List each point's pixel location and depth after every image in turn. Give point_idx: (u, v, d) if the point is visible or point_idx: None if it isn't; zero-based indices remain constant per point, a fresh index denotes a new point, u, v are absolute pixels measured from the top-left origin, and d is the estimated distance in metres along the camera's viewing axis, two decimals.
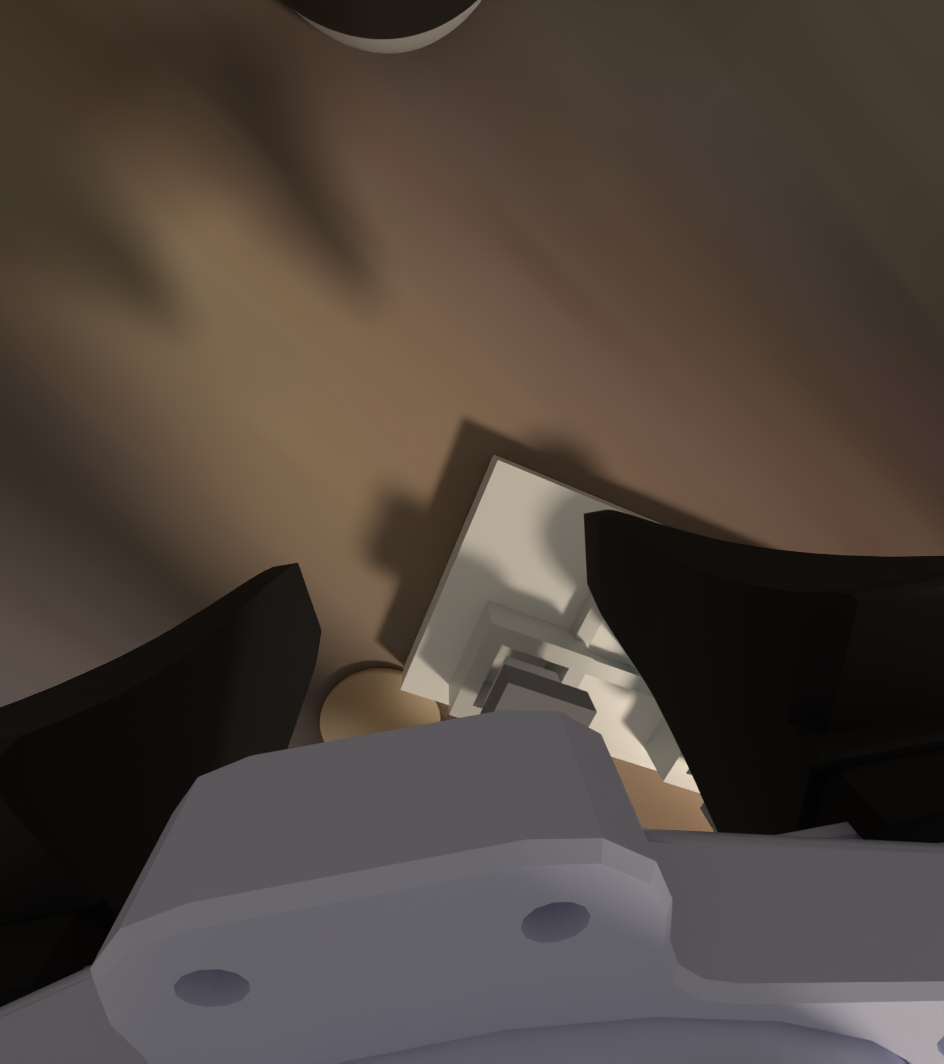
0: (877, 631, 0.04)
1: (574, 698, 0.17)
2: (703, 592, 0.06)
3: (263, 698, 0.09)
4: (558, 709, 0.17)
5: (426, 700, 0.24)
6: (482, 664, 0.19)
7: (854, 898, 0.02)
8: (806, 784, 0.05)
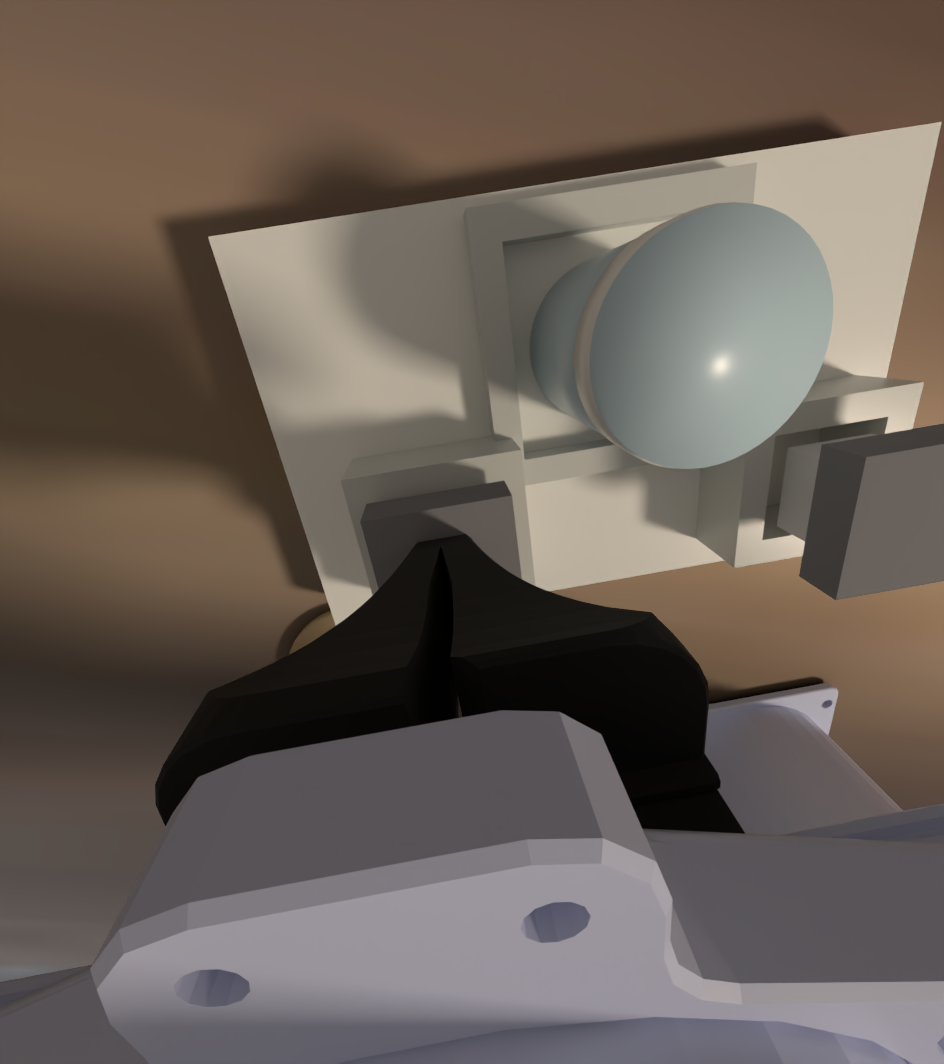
0: (512, 697, 0.04)
1: (476, 495, 0.11)
2: None
3: (447, 665, 0.09)
4: (455, 521, 0.11)
5: None
6: None
7: (854, 898, 0.02)
8: None
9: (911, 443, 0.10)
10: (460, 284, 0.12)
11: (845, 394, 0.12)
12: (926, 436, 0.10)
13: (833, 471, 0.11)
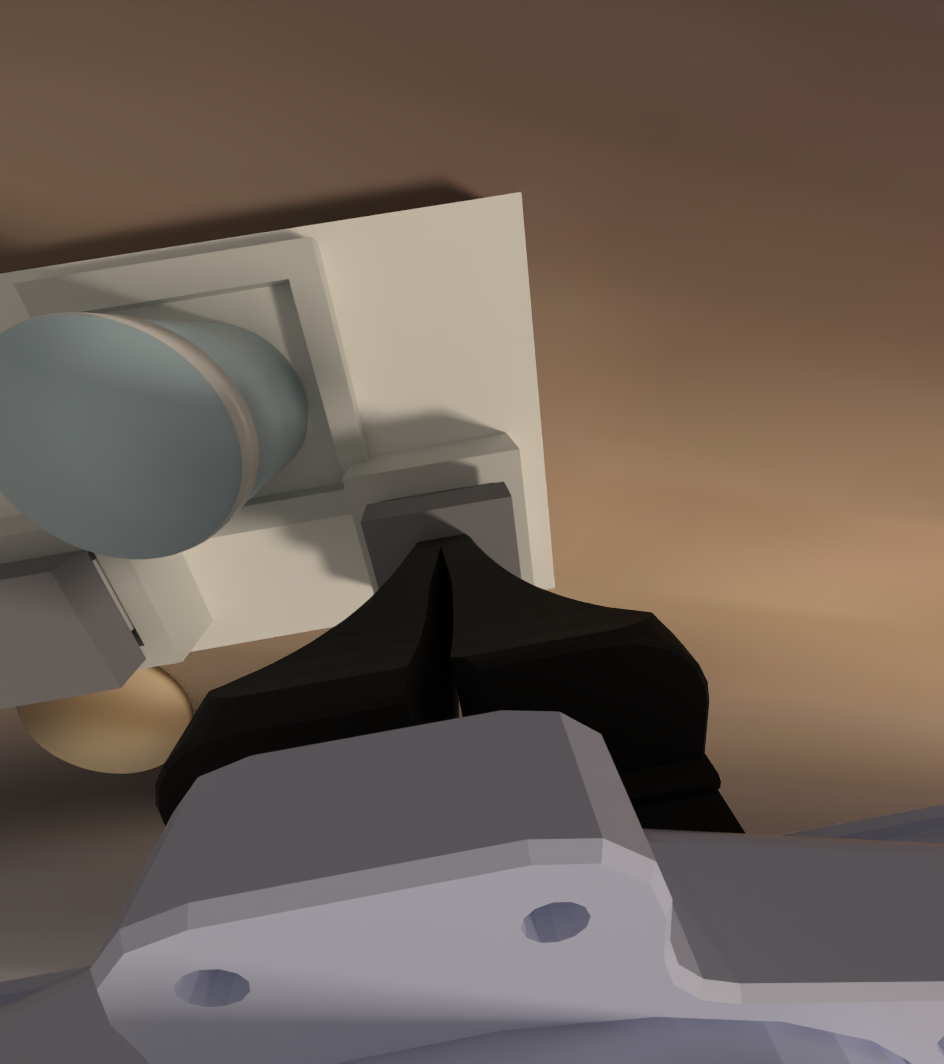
0: (512, 697, 0.04)
1: (30, 568, 0.11)
2: None
3: (447, 665, 0.09)
4: (0, 596, 0.11)
5: None
6: None
7: (854, 899, 0.02)
8: None
9: (416, 507, 0.11)
10: None
11: (441, 461, 0.12)
12: (441, 499, 0.11)
13: None
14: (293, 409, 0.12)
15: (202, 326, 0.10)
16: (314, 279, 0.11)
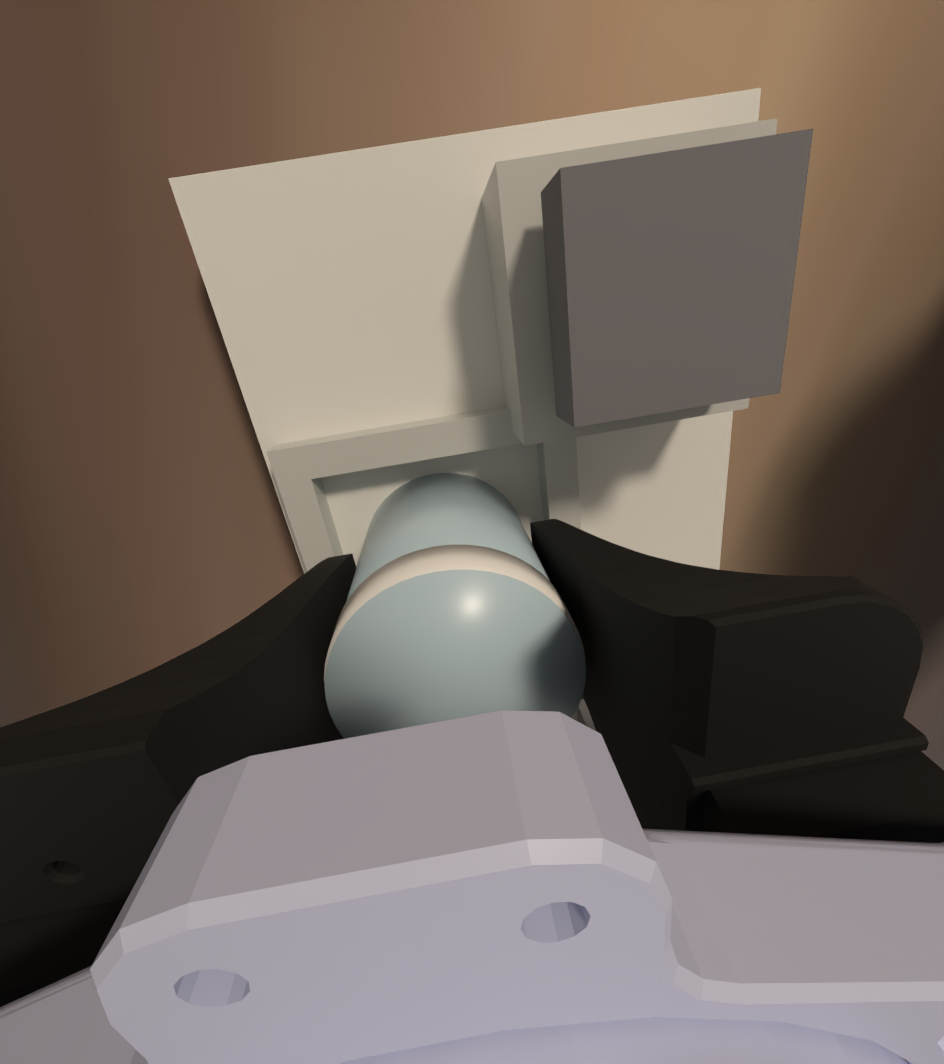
0: (740, 655, 0.04)
1: None
2: (610, 608, 0.06)
3: None
4: None
5: None
6: None
7: (854, 898, 0.02)
8: (687, 806, 0.05)
9: (564, 344, 0.08)
10: None
11: (509, 304, 0.08)
12: (557, 304, 0.08)
13: None
14: (442, 491, 0.10)
15: (356, 569, 0.10)
16: (307, 453, 0.11)
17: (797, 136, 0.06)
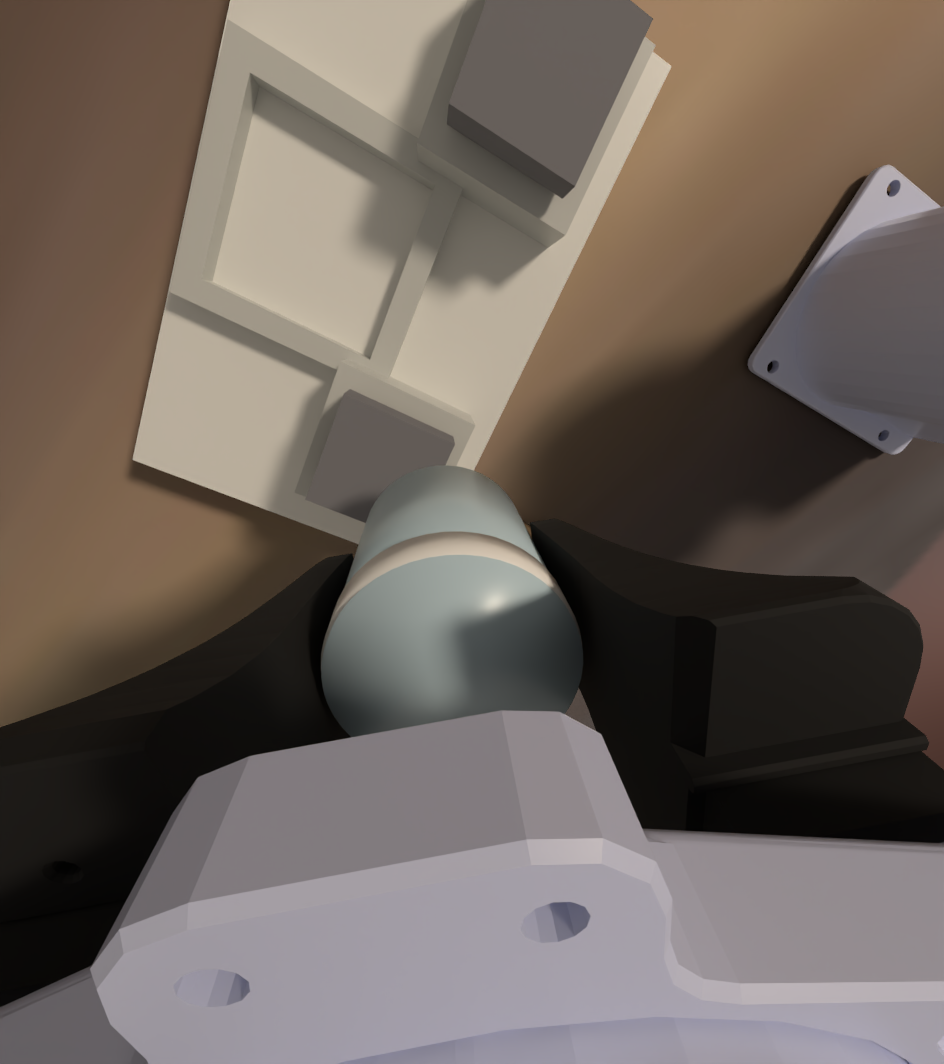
0: (741, 656, 0.04)
1: (337, 416, 0.14)
2: (611, 608, 0.06)
3: None
4: (340, 442, 0.14)
5: None
6: None
7: (854, 898, 0.02)
8: (687, 806, 0.05)
9: (471, 45, 0.11)
10: (226, 324, 0.16)
11: (458, 27, 0.12)
12: None
13: (466, 128, 0.12)
14: (436, 482, 0.10)
15: None
16: (259, 48, 0.12)
17: (644, 16, 0.11)
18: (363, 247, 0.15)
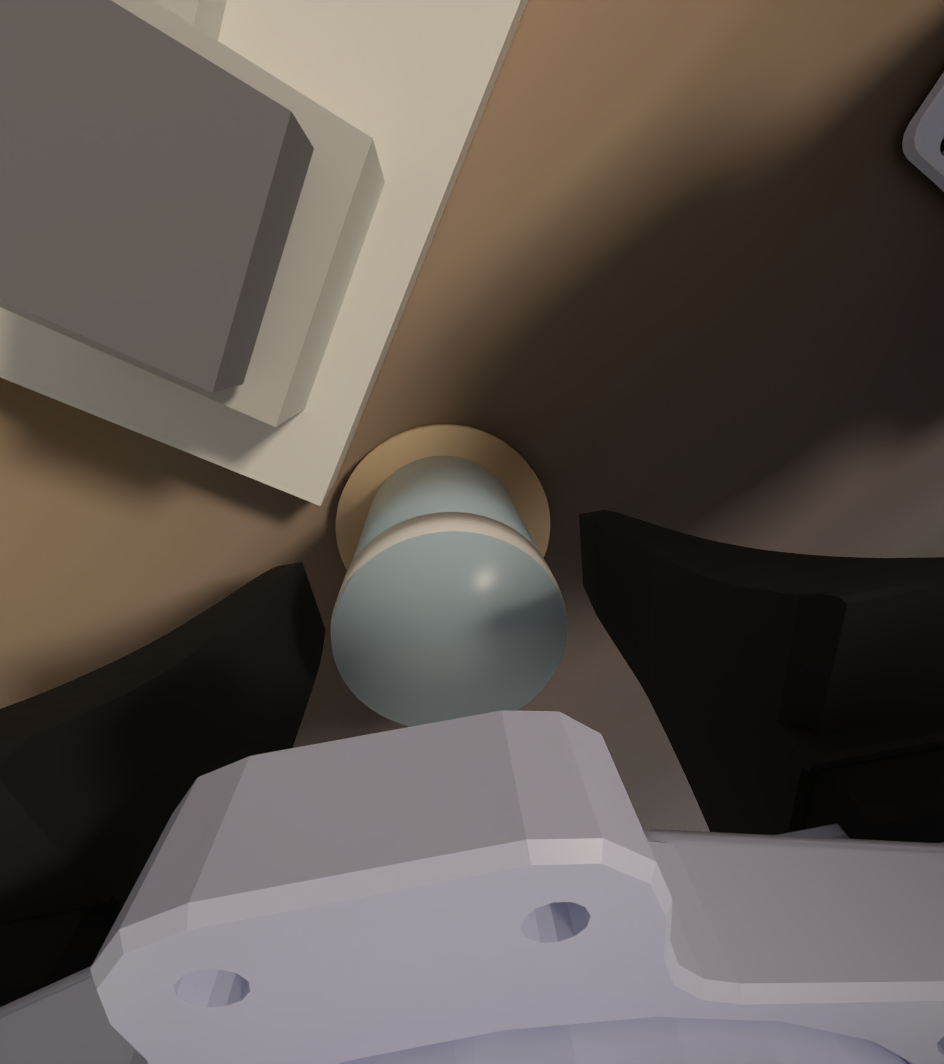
0: (866, 633, 0.04)
1: None
2: (696, 593, 0.06)
3: (269, 696, 0.09)
4: None
5: (396, 449, 0.12)
6: None
7: (854, 898, 0.02)
8: (797, 786, 0.05)
9: None
10: None
11: None
12: None
13: None
14: (434, 470, 0.11)
15: None
16: None
17: None
18: None
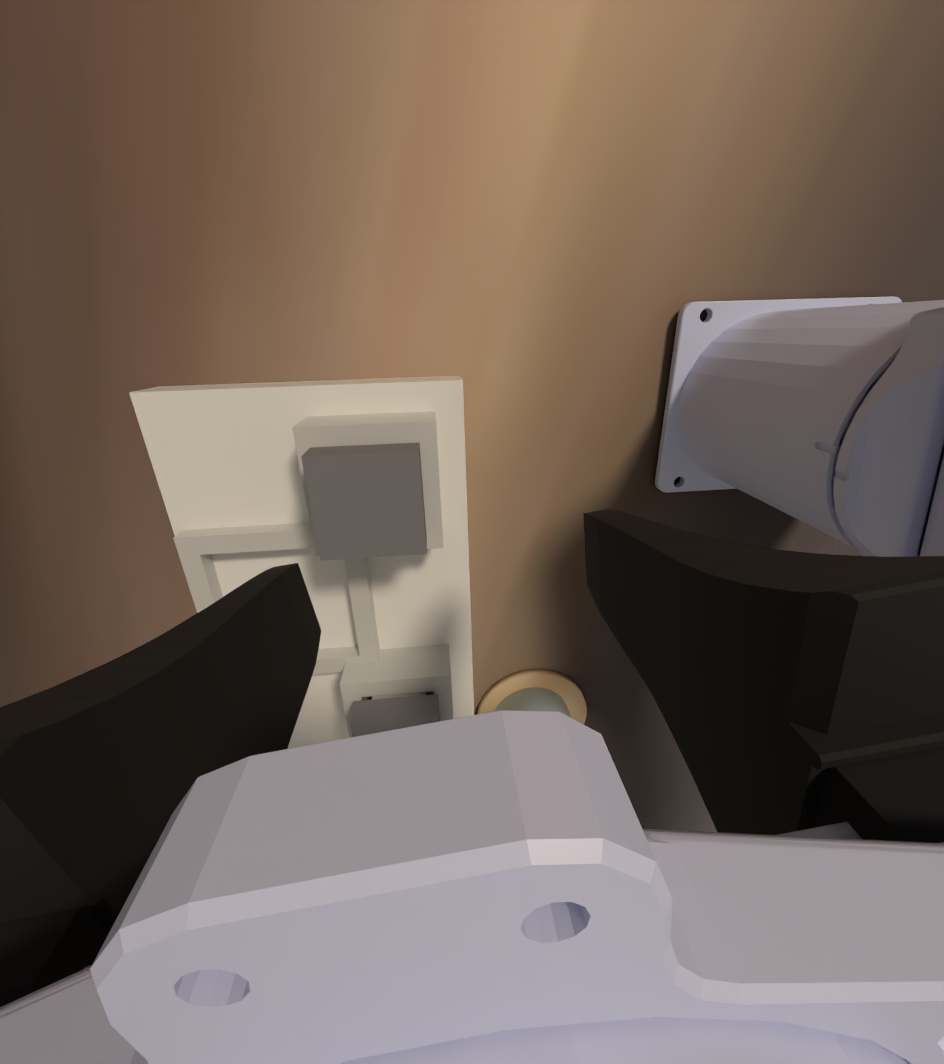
0: (878, 631, 0.04)
1: None
2: (703, 592, 0.06)
3: (263, 698, 0.09)
4: None
5: (493, 699, 0.26)
6: None
7: (854, 898, 0.02)
8: (806, 784, 0.05)
9: (315, 520, 0.15)
10: None
11: (303, 487, 0.16)
12: None
13: None
14: None
15: None
16: (198, 540, 0.18)
17: (412, 452, 0.14)
18: (319, 590, 0.20)
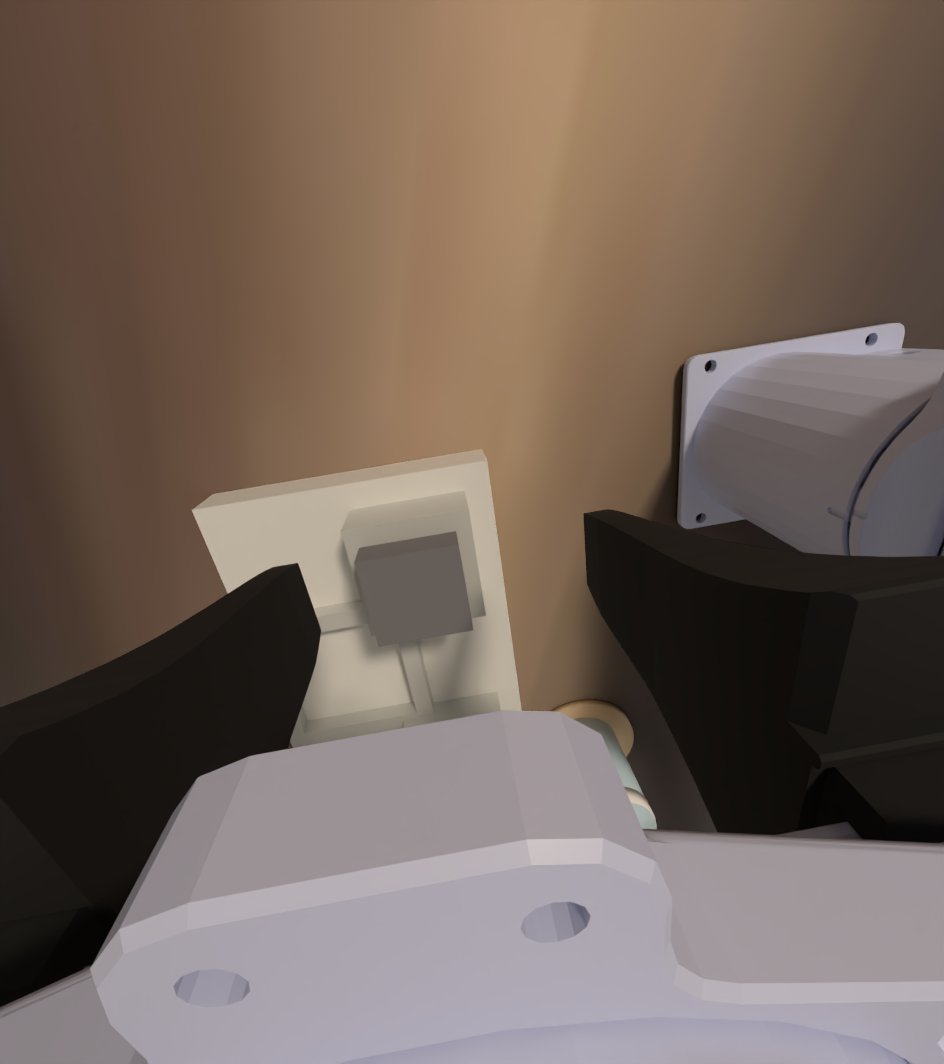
0: (877, 631, 0.04)
1: None
2: (703, 592, 0.06)
3: (263, 698, 0.09)
4: None
5: None
6: None
7: (854, 898, 0.02)
8: (806, 784, 0.05)
9: (371, 612, 0.17)
10: None
11: (355, 579, 0.18)
12: None
13: None
14: None
15: None
16: None
17: (452, 547, 0.16)
18: (373, 657, 0.22)
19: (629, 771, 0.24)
